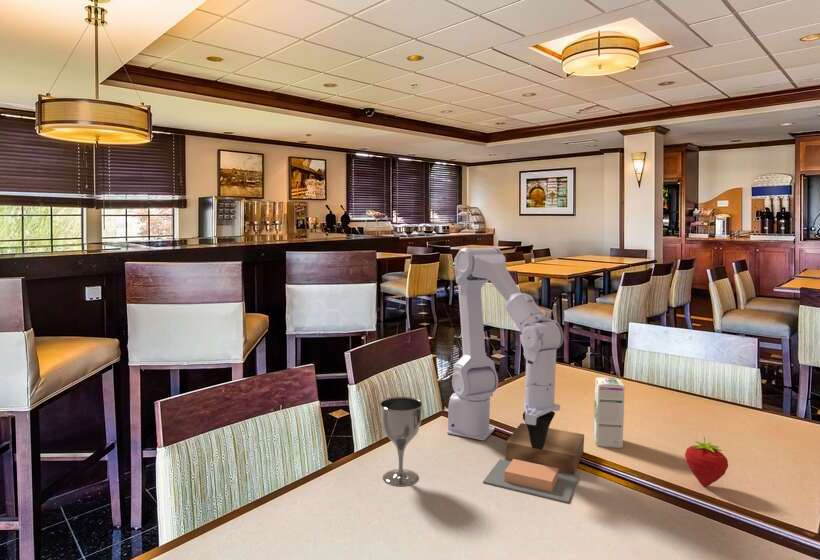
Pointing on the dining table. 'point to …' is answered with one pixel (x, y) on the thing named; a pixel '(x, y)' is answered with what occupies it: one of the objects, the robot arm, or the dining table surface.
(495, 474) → the mat
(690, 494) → the dining table surface
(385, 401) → the wine glass
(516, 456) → the brown box
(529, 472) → the peach rectangular box
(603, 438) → the syrup box
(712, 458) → the strawberry
